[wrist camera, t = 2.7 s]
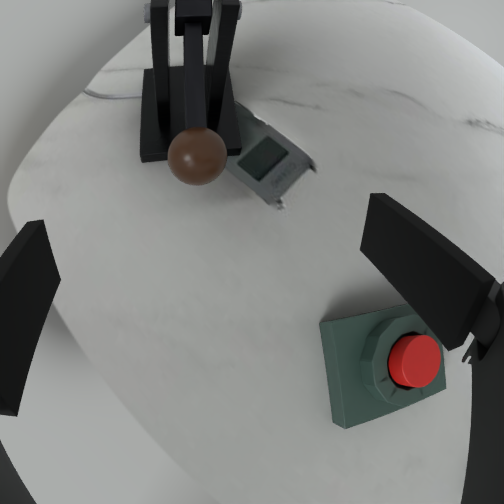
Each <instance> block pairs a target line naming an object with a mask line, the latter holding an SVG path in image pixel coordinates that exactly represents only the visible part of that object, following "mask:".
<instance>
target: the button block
mask: <svg viewBox="0 0 504 504" xmlns="http://www.w3.org/2000/svg"><path fill="white" fill-rule="evenodd" d="M319 325H320V331H321V338H322V345H323V351H324V358H325V365H326V372H327V380H328V387H329V395H330V403H331V411H332V420H333V423H335V424H337V425H338V426H340V427H342V428H344V429H347V428H350V427H353V426H356V425H359V424H362V423H365V422H368V421H370V420H373V419H376V418H379V417H381V416H384V415H387V414H389V413H392V412H394V411H397V410H399V409H402V408H404V407H407V406H409V405H411V404H414V403H416V402H418V401H420V400H423V399H425V398H427V397H429V396H432V395H434V394H436V393H438V392H440V391H442V390H444V389H446V379H445V367H444V357H443V347H442V343H441V342H440V340H439V339H438V338H437V337H436V335H435V334H434V333H433V332H432V331H431V329H430V328H429V327H428V326H427V325H426V323H425V322H424V321H423V320H422V319H421V317H420V316H419V315H418V314H417V313H416V312H415V310H414V309H413V308H412V307H411V306H410V305H409V304H404V305H400V306H396V307H392V308H387V309H383V310H379V311H374V312H370V313H365V314H360V315H356V316H351V317H346V318H341V319H336V320H331V321H326V322H320V323H319ZM416 335H427V336H430V337H431V338H433V339H434V340H435V341H436V343H437V344H438V346H439V349H440V354H441V361H440V367H439V370H438V373H437V375H436V376H435V378H434V379H433V380H432V381H431V382H430V383H429V384H428V385H426V386H424V387H410V386H404V385H400V384H398V383H396V382H395V381H394V380H393V378H392V377H391V375H390V372H389V366H388V362H389V356H390V353H391V350H392V348H393V346H394V345H395V344H396V343H397V342H398V341H399V340H400V339H401V338H403V337H406V336H416Z"/></svg>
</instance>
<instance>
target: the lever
mask: <svg viewBox="0 0 504 504" xmlns="http://www.w3.org/2000/svg"><path fill="white" fill-rule="evenodd" d="M212 16H213V10H212V0H175V36H183V44H184V102H185V129H186V130H184V131H182V132H181V133H179V134H178V135H177V136H176V137H175V138H174V139H173V141H172V142H171V144H170V147H169V150H168V164H169V167H170V169H171V171H172V173H173V174H174V175H175V177H177V178H178V179H179V180H180V181H182V182H184V183H186V184H189V185H204V184H207V183H210V182H212V181H213V180H215V179H216V178H217V177H218V176H219V175H220V174H221V173H222V171H223V169H224V167H225V165H226V161H227V150H226V146H225V144H224V142H223V140H222V138H221V137H220V136H219V135H218V134H217V133H215V132H214V131H212V130H210V129H208V128H207V126H206V108H205V86H204V62H203V35H208V34H209V30H210V26H211V21H212Z"/></svg>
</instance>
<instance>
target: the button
mask: <svg viewBox="0 0 504 504" xmlns="http://www.w3.org/2000/svg"><path fill="white" fill-rule="evenodd" d="M440 361H441V354H440V349H439V346H438V344H437V343H436V341H435V340H434V339H433V338H431V337H430V336H427V335H416V336H406V337H403V338H401V339H400V340H399V341H398V342H397V343H396V344H395V345H394V346H393V348H392V350H391V353H390V356H389V362H388V366H389V372H390V375H391V377H392V378H393V380H394V381H395V382H396V383H398V384H400V385H404V386H410V387H424V386H426V385H428V384H429V383H430V382H431V381H432V380H433V379H434V378H435V376H436V375H437V373H438V370H439V367H440Z"/></svg>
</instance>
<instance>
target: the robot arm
mask: <svg viewBox="0 0 504 504" xmlns="http://www.w3.org/2000/svg"><path fill="white" fill-rule="evenodd" d="M360 251H361V252H362V253H363V254H364V255H365V256H366V257H367V258H368V259H369V260H370V261H371V262H372V263H373V264H374V266H375V267H376V268H377V269H378V270H379V271H380V272H381V273H382V274H383V275H384V276H385V278H386V279H387V280H388V281H389V282H390V283H391V284H392V285H393V286H394V288H395V289H396V290H397V291H398V292H399V293H400V294H401V296H402V297H403V298H404V299H405V300H406V301H407V302H408V304H409V305H410V306H411V307H412V308H413V309H414V310H415V312H416V313H417V314H418V315H419V316H420V317H421V319H422V320H423V321H424V322H425V323H426V325H427V326H428V327H429V328H430V329H431V331H432V332H433V333H434V334H435V335H436V337H437V338H438V339H439V340H440V342H441V343H442V344H443V345H444V347H445V348H446V349H447V350H448V351H450V350H452V349H455V348H457V347H460V346H462V345H463V344H464V342H465V340H466V338H467V336H468V335H469V333H470V332H471V333H472V334H473V335H474V336H475V338H474V339H473V341H472V343H471V345H470V346H469V348H468V350H467V351H466V353H465V355H464V356H463V359H462V362H465V361H466V359H467V357H468V356H471V359H470V360H469V362H468V364H472V412H471V430H470V443H469V453H468V462H467V469H466V476H465V483H464V489H463V495H462V500H461V504H504V282H503V283H502V284H499V283H498V282H497V281H496V280H495V278H494V277H493V276H492V275H491V274H490V273H488V272H487V271H486V270H485V269H484V268H483V267H481V266H480V265H479V264H478V263H477V262H476V261H474V260H473V259H472V258H471V257H470V256H468V255H467V254H466V253H465V252H463V251H462V250H461V249H460V248H459V247H457V246H456V245H455V244H454V243H452V242H451V241H450V240H448V239H447V238H446V237H445V236H443V235H442V234H441V233H439V232H438V231H437V230H435V229H434V228H433V227H432V226H430V225H429V224H427V223H426V222H425V221H423V220H422V219H421V218H419V217H418V216H417V215H415V214H414V213H412V212H411V211H410V210H408V209H407V208H405V207H404V206H403V205H401V204H400V203H398V202H397V201H395V200H394V199H393V198H391V197H390V196H388V195H387V194H385V193H370V199H369V205H368V210H367V216H366V221H365V226H364V232H363V237H362V242H361V246H360ZM60 281H61V278H60V275H59V272H58V269H57V266H56V263H55V259H54V256H53V253H52V249H51V246H50V242H49V239H48V235H47V231H46V228H45V224H44V220H36V221H30V222H27V223H26V224H25V225H24V227H23V228H22V229H21V230H20V232H19V233H18V234H17V236H16V237H15V238H14V239H13V241H12V242H11V244H10V245H9V246H8V247H7V249H6V250H5V252H4V253H3V254H2V256H1V257H0V415H8V416H16V417H17V415H18V411H19V406H20V402H21V398H22V394H23V390H24V386H25V383H26V379H27V375H28V372H29V368H30V365H31V361H32V358H33V355H34V352H35V349H36V345H37V343H38V340H39V337H40V334H41V331H42V328H43V325H44V322H45V320H46V317H47V314H48V311H49V309H50V306H51V304H52V301H53V298H54V296H55V293H56V291H57V288H58V286H59V284H60ZM0 504H36V502H35V501H34V499H33V498H32V496H31V495H30V493H29V491H28V490H27V488H26V487H25V485H24V483H23V482H22V480H21V479H20V477H19V475H18V473H17V471H16V469H15V468H14V466H13V464H12V462H11V461H10V458H9V457H8V455H7V453H6V451H5V449H4V447H3V445H2V443H1V441H0Z"/></svg>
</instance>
